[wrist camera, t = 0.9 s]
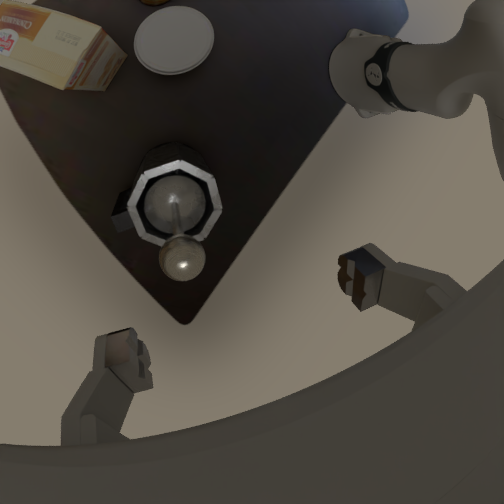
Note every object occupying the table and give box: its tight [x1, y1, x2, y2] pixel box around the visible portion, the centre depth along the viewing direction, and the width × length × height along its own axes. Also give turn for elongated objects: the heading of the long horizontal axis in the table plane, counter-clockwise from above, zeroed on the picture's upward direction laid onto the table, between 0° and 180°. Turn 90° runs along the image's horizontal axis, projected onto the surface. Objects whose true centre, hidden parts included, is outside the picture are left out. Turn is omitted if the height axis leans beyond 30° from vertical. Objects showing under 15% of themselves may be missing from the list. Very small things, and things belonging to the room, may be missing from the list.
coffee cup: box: [134, 6, 214, 75], centre depth 28 cm, size 9×9×12 cm
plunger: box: [144, 174, 206, 281], centre depth 28 cm, size 8×8×14 cm
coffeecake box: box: [0, 0, 128, 91], centre depth 20 cm, size 15×7×20 cm, turn 54°
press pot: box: [111, 142, 223, 246], centre depth 38 cm, size 14×11×14 cm
